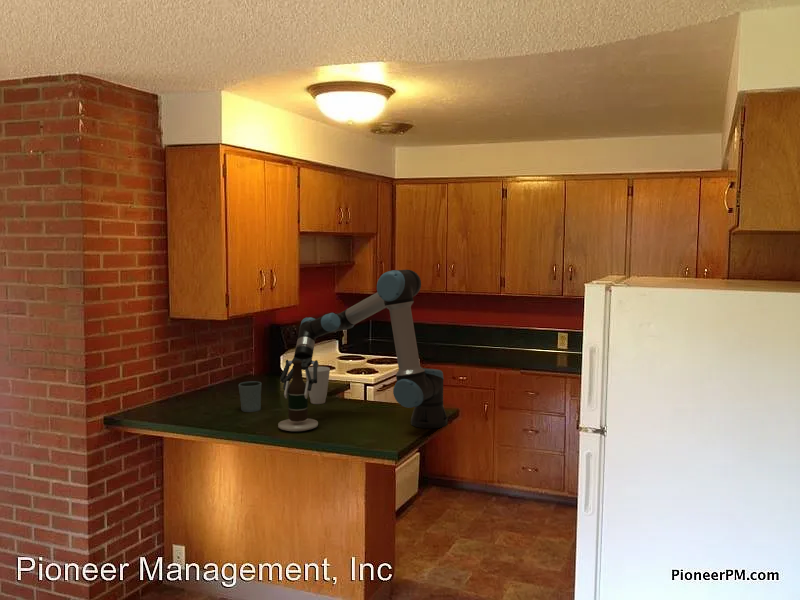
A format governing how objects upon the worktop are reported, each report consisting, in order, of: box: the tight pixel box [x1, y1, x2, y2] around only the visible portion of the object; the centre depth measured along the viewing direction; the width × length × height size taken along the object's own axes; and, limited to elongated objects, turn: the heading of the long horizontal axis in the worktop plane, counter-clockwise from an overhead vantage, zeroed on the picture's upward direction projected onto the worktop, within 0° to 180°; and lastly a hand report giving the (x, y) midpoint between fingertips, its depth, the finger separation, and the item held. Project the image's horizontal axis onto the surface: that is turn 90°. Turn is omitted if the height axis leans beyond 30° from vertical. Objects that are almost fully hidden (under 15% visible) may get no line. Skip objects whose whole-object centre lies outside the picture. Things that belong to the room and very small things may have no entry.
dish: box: [277, 417, 319, 433], centre depth 280 cm, size 16×16×2 cm
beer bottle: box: [287, 360, 309, 421], centre depth 279 cm, size 8×8×24 cm
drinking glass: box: [237, 380, 262, 413], centre depth 311 cm, size 10×10×12 cm
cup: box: [304, 366, 331, 405], centre depth 324 cm, size 12×12×16 cm
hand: (295, 396), depth 276 cm, fingers closed on beer bottle, 7 cm apart
